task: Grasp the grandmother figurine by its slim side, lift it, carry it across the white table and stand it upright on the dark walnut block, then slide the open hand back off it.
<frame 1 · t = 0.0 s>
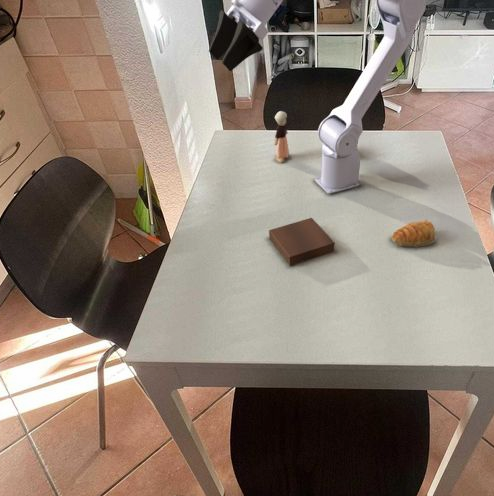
hand: (219, 61, 82), 32 cm above the table, tool tilted 50°, fingers open, 7 cm apart
fruit: (340, 155, 125), on the table
pastry: (414, 240, 98), on the table
grandmother figurine: (282, 158, 124), on the table
walnut block: (301, 245, 97), on the table
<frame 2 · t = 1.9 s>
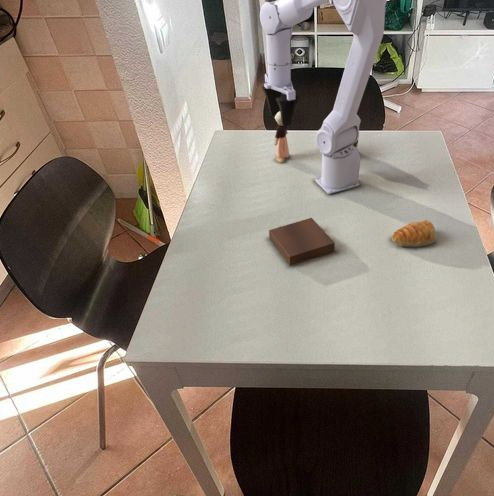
hand: (280, 120, 116), 11 cm above the table, tool pointing down, fingers open, 7 cm apart
nothing on the table moved.
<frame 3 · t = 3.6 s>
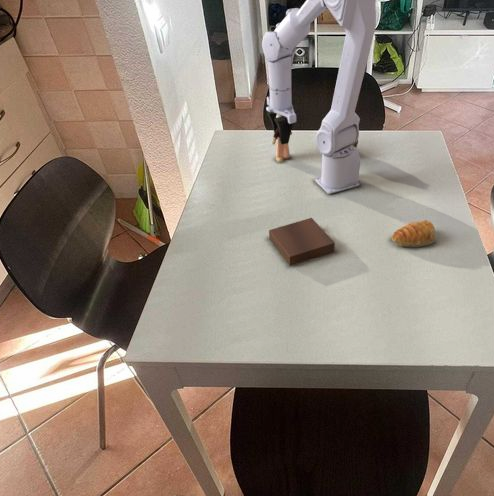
hand: (282, 140, 120), 5 cm above the table, tool pointing down, fingers closed on grandmother figurine, 3 cm apart
grandmother figurine: (283, 158, 124), on the table, touching gripper
everything else where it was.
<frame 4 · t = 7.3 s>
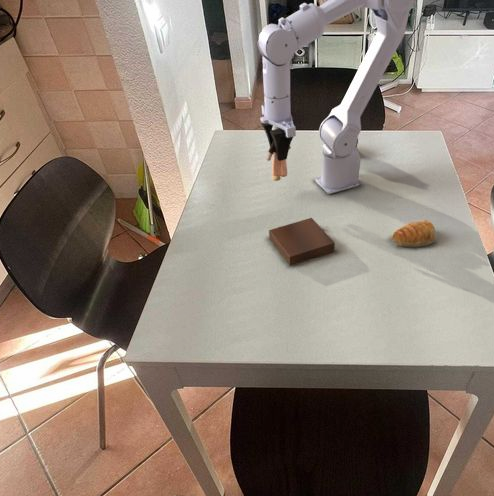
hand: (279, 156, 103), 10 cm above the table, tool pointing down, fingers closed on grandmother figurine, 3 cm apart
grandmother figurine: (280, 176, 107), point 5 cm above the table, touching gripper
everything else where it was.
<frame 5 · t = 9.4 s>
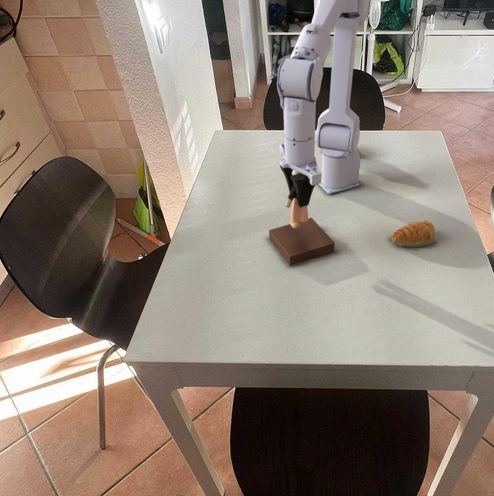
hand: (299, 201, 90), 10 cm above the table, tool pointing down, fingers closed on grandmother figurine, 3 cm apart
grandmother figurine: (300, 222, 94), point 5 cm above the table, touching gripper
everything else where it was.
when the fingers open (7 cm above the table, at t = 11.0 s): grandmother figurine stays where it is, resting on walnut block.
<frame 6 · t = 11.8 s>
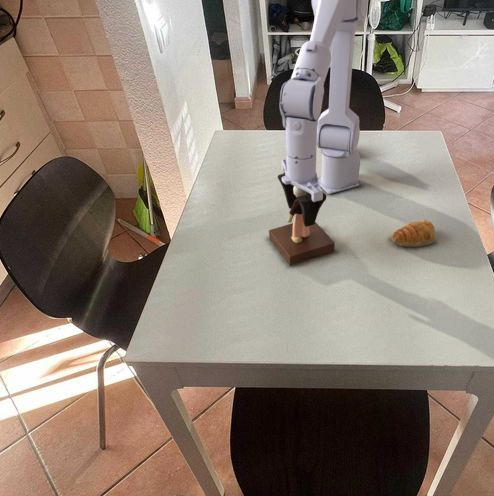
hand: (301, 215, 91), 8 cm above the table, tool pointing down, fingers open, 7 cm apart
grandmother figurine: (301, 236, 95), point 2 cm above the table, touching walnut block
everything else where it was.
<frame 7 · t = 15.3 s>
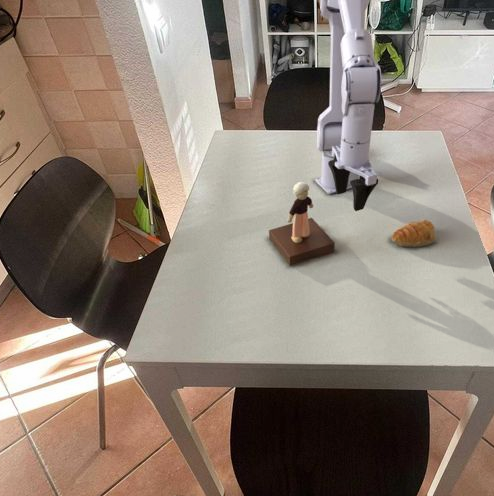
hand: (349, 200, 94), 8 cm above the table, tool pointing down, fingers open, 7 cm apart
nothing on the table moved.
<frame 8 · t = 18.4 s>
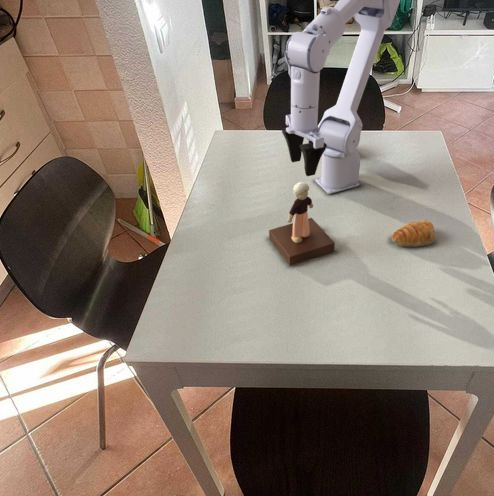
hand: (302, 167, 99), 10 cm above the table, tool pointing down, fingers open, 7 cm apart
nothing on the table moved.
at the end: grandmother figurine inside the target area on the walnut block (0.1 cm from its centre), point 2.3 cm above the walnut block's base; grandmother figurine tilted 0°; the gripper is holding nothing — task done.
